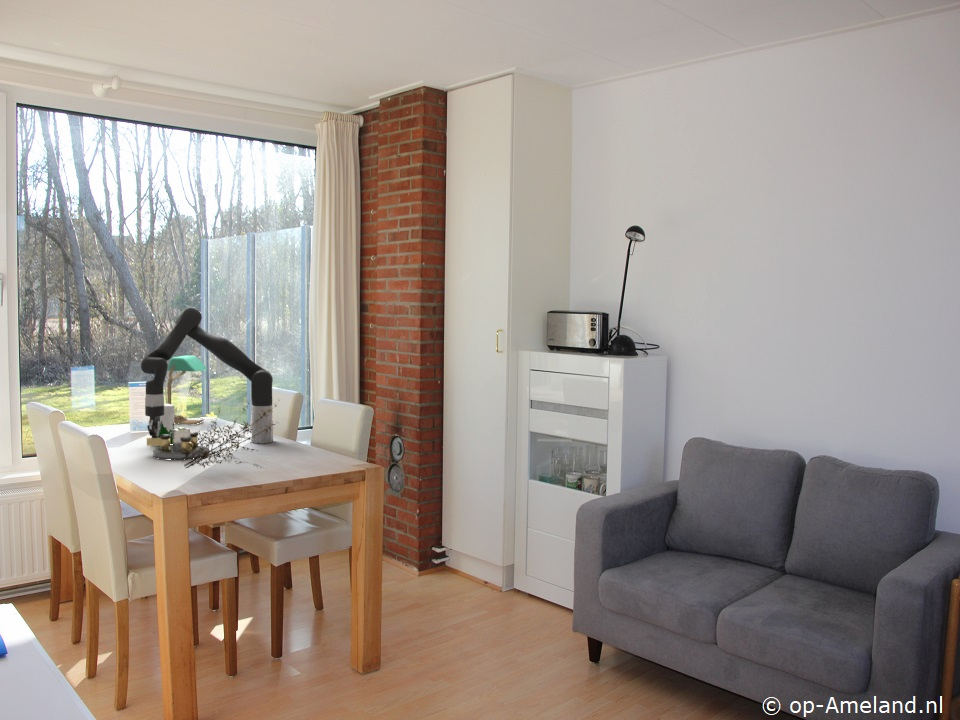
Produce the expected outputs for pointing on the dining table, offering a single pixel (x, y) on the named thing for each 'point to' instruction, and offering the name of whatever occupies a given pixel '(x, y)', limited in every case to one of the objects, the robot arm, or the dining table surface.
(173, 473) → the dining table surface
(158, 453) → the base
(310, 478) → the dining table surface
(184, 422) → the banker's lamp
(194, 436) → the knob near
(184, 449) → the knob left
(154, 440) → the knob front
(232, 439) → the dried plant
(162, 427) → the milk carton
